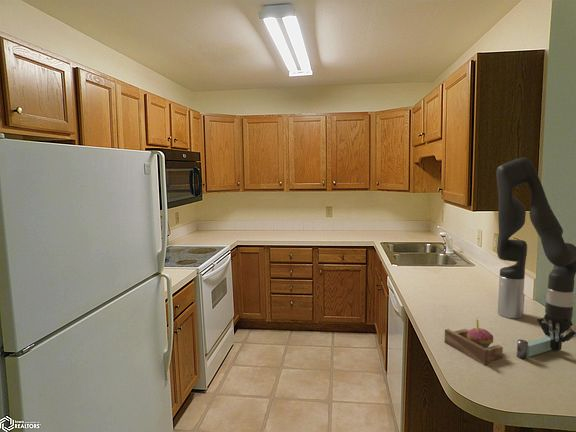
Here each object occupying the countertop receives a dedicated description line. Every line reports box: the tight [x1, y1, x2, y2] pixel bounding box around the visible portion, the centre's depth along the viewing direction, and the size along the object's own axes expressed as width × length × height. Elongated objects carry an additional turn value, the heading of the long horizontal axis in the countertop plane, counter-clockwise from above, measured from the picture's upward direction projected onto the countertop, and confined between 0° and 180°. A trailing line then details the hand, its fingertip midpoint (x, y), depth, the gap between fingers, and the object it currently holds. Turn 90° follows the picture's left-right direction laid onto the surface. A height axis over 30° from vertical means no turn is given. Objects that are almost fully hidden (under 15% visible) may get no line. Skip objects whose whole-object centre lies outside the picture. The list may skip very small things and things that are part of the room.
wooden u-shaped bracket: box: [444, 328, 504, 366], centre depth 132 cm, size 9×17×5 cm, turn 22°
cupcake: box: [467, 318, 494, 348], centre depth 133 cm, size 9×8×12 cm
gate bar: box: [527, 336, 552, 357], centre depth 130 cm, size 14×2×4 cm, turn 112°
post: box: [516, 339, 529, 360], centre depth 127 cm, size 3×3×6 cm
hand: (555, 350), depth 128 cm, fingers closed
